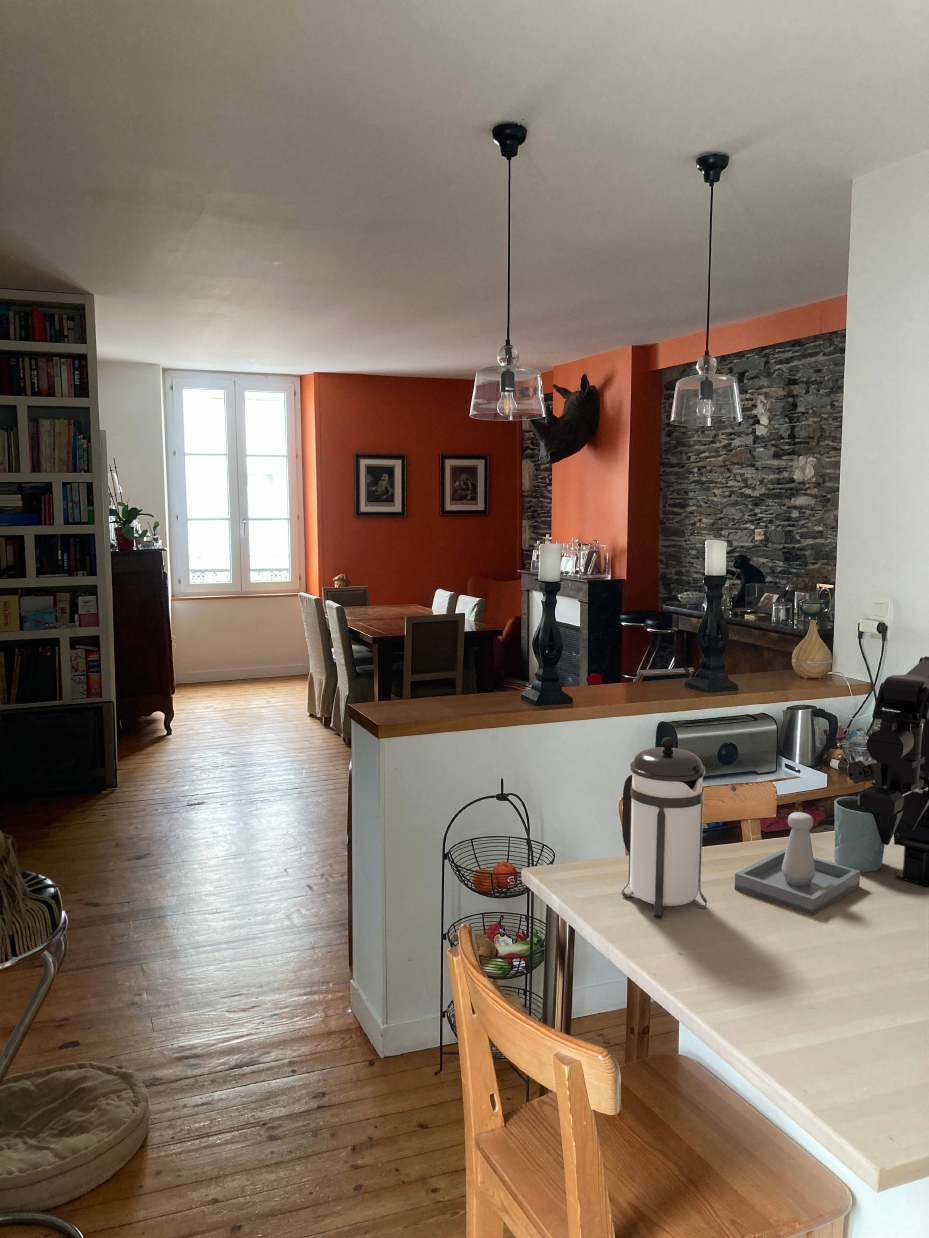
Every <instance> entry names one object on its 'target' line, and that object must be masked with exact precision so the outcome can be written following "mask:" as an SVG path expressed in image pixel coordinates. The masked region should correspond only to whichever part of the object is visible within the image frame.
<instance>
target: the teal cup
mask: <svg viewBox="0 0 929 1238" xmlns="http://www.w3.org/2000/svg"><path fill="white" fill-rule="evenodd" d="M833 802H834V803H833V805H834V806H833V809H834V828H833V829H834V856H833V857H834V862H835V864H838V865H842V866H845V867H849V868H852V869H855V870H859V871H860V872H866V873H867V872H876V871H879V870H880V869H881V867H882V865H883V857H884V852H885V851H884V850H885V848H886V845H885V844H882V843H881V839H880V836H879V832H878V829H877V826H876V822H875V820H874V817H873V815H872V814H871V813H870V812H869V811H868V810H866V809H864V808H863V807H862V806H859V805H858V796H842V797H838V798H836V799H834V801H833ZM878 869H879V870H878Z"/></svg>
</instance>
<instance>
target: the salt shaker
mask: <svg viewBox="0 0 929 1238" xmlns="http://www.w3.org/2000/svg"><path fill="white" fill-rule="evenodd" d="M787 818H788V819H787V824H788V826H789V827H791V829H790V833H789V837H788V841H787V846H786V848H785V849H786V852H785V856H784V860H783V864H782V872H783V874H784V877H785V880H786V882H787V883H788V884H790V885H793V886H797V887H806V886H808V885H810V883H811V881H812V879H813V878H814V876H815V866H814V858H813V857H814V853H813V846H812V844H813V843H812V839H811V838H812V837H811V831H810V830H811V829H812V828H813V826H814V819H813V817H812V816H811V815H810V814H808V813H806V812H801V811H800V812H797V811H795V812H792V813H790V814H789V815H788V817H787Z"/></svg>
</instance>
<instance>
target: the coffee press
mask: <svg viewBox="0 0 929 1238" xmlns="http://www.w3.org/2000/svg"><path fill="white" fill-rule="evenodd" d="M660 744H661V746H662V747H660V746H659V747H651V748H650V747H649V748H646V749H643V750H641V751H640V752H638V753H637V754H636V755H635V756H634V758H633V760H632V761H631V762H630V767H629V768H630V772H631V774H630V775H629V776H627V778H626V779H625V781H624V784H623V790H622V812H621V813H622V815H621V816H622V817H621V818H622V821H621V826H622V829H621V832H622V833H621V834H622V841H623V844H624V846H625V850H626V851H627V853H628V882H627V884H626V885H624V887H623V889H622V891H621V895H622V897H623V898H625V897H628V898H629V897H631V896H633V895H634V896H636V897H637V898H639V899H640V900H641V901H644V902H646V903H649V904H652V905H654V907H653V918H658V919H663V913H664V907H675V906H677V907H678V906H683V905H686V904H689V903H691V902H692V903H694V904H695V905H696V906H697V907H698V908H699V909H701V910H705V909H706V908H707V904H708V900H707V898H706V896H704V894H703V892H702V858H703V857H702V855H703V854H702V853H703V851H702V850H703V827H704V826H703V825H704V824H703V823H704V822H703V821H704V819H703V818H704V793H705V792H704V791H705V790H704V789H705V788H704V787H703V779H704V776H705V775H706V767H705V766H704V764H703V762H702V760H701V759H700V758H699V757H698V756H697V754H695V753H693V752H691V751H688V750H686V749H681V748H676V747H675V745H676V742H675V740H674V739H673V738H672V737H670V736H669V737H668V736H666V737H664V738H663V739H662V741H661V742H660ZM628 885H629V886H630V889H631V892H630V893H626V892H625V890H626V888H627V887H628ZM698 894H699V897H700V898H701V900H702V901H703V902H704V903H705V904H701V903H700V902H699V901H698V900H697V899H696V898H697V897H698Z"/></svg>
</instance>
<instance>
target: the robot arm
mask: <svg viewBox="0 0 929 1238" xmlns="http://www.w3.org/2000/svg"><path fill="white" fill-rule="evenodd" d="M872 712H873V713H872V717H871V718H872V720H873V719H874V720H881V721H880V724H879V728H878V729H876V730H875V731H873V732H872V733H871V734H870V735H869V736H868V738H867V740H866V750H867V753H868V754H869V756H870V757H871V758H872V759H869V760H863V761H862V760H861V759H857V760H853V761H849V762H848V765H847V767H846V771H847V772H846V773H845V776H846V777H847V778H848V779H849V780H851V781H852V784H854V785H858V784H860V783H865V782H873V781H874V785H871V786H869V787H866V788H864V789H862V791H860V792H858V795H857V797H858V805H859V806H862V807H863V808H864V809H866V810H868V811H869V812H870V813H871V814H872V815H873V817H874V820H875V822H876V826H877V829H878V832H879V836H880V839H881V843H882V844H884V845H885V846H889V845H890V843H891V842H892V839H893V844H894V845H895V846H901V847H903V848H904V849H903V864H902V870H899V872H897V873H896V874H895V878H897V879H901V880H904V881H907V882H910V883H913V884H914V883H915V884H918V885H921V886H925V887H928V888H929V656H924V657H920V658H919V661H918V662H917V664H916V665H914V667H912V668H911V669H910V670H909V671H908V672H907V673H905V674H893V675H889V676H887V677H886V678H885V679H884V681H882V682H881V683H880V685H879V688H878V693H877V696H876V700H875V704H874V708H873V711H872ZM881 786H884V787H881Z"/></svg>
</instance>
